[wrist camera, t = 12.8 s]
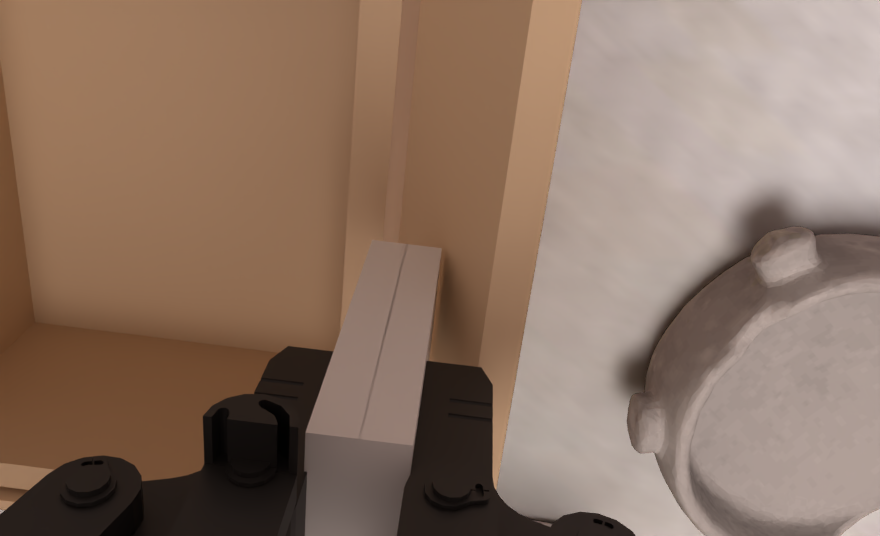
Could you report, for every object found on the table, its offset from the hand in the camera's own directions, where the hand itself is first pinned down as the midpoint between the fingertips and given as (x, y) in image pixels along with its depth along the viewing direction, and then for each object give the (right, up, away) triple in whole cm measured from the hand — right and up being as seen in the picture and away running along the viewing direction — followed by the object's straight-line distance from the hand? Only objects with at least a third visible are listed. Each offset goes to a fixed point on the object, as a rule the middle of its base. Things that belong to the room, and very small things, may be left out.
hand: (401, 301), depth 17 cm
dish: (+16, -3, +16) cm, 23 cm away
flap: (0, +2, +4) cm, 4 cm away
